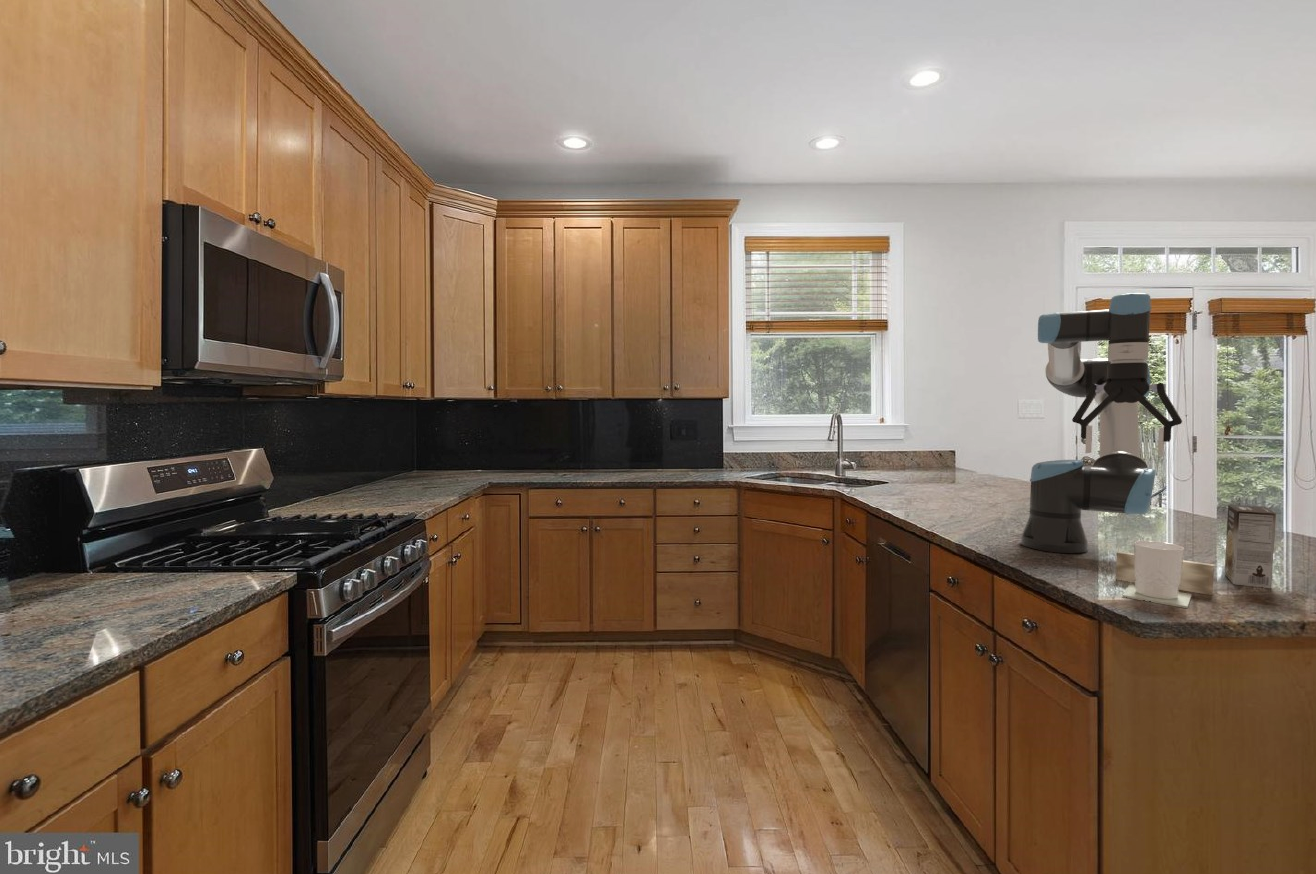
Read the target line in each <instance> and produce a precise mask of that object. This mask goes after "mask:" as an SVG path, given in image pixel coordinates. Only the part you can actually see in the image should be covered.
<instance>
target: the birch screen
mask: <svg viewBox="0 0 1316 874" xmlns="http://www.w3.org/2000/svg"><path fill="white" fill-rule="evenodd" d="M1115 560H1116V561H1115V579H1117V581H1121V580H1122V581H1123V582H1127V581H1128V583H1129V582H1130V583H1134V584H1135V580H1136V579H1135V568H1134V552H1132V553H1131V552H1124V551H1117V552H1116V557H1115ZM1214 575H1215V564H1214V563H1213V564H1212V563H1205V562H1199V561H1192V560H1185V559H1183V565H1182V574H1181V581H1180V585H1179V591H1185V592H1191V593H1197V594H1203V595H1209V596H1213V594H1214V593H1213V592H1214Z"/></svg>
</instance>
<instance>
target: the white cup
mask: <svg viewBox="0 0 1316 874" xmlns="http://www.w3.org/2000/svg"><path fill="white" fill-rule="evenodd" d="M1133 547H1134V548H1133V554H1134V568H1135V579H1136V580H1135V583H1134V585H1135V591H1136V592H1137V593H1139V594H1142V595H1145V596H1148V597H1154V598H1161V599H1176V598H1177V597H1178V593H1179V592H1180V590H1179V585H1180V581H1181V574H1182V565H1183V560H1184V554H1185V547H1183V546H1181V545H1179V544H1175V543H1169V542H1163V541H1153V540H1137V541H1134V542H1133Z"/></svg>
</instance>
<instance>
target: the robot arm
mask: <svg viewBox="0 0 1316 874" xmlns="http://www.w3.org/2000/svg"><path fill="white" fill-rule="evenodd" d="M1151 300H1152V299H1151V296H1150V294H1148V293H1145V292H1134V293H1133V292H1132V293H1122V294H1117V295H1114V296H1112V297H1111V299H1110V302H1109V308H1108V309H1097V310H1085V311H1084V310H1082V311H1081V310H1080V311H1066V312H1058V311H1056V312H1053V313H1043V314H1041V315H1039V317H1038V322H1037V341H1038V343H1041V344H1047V351H1048V354H1047V355H1048V361H1047V364H1046V366H1045V378H1046V379H1047V381H1048V383H1049V384H1050V385H1051V386H1052V387H1053V388H1054V389H1056V390H1057V391H1059V392H1061V393H1063V394H1065V395H1068V396H1070V397H1075V398H1084V400H1083V401H1082V403H1081V405H1080V406H1079V408H1078V409H1077V411H1076V413H1075V414H1074V416H1073V418H1072V419H1071V420H1072V422H1073V423H1076V424H1079V425H1080V438H1081V439H1082V440H1083V439H1085V452H1084V453H1085V454H1091V453H1092V449H1093V448H1092V445H1093V425H1089V424H1090V423H1091V422H1093V420H1095V419H1096V417H1098V416H1099V457H1097V458H1096V459H1095V460H1094V462H1093V464H1092V465H1084V464H1085V463H1084V462H1083V460H1082V459H1059V460H1058V459H1057V460H1047V461H1041V462H1037V463H1035V464H1033V465H1032V467H1031V472H1030V473H1031V474H1030V479H1029V482H1030V495H1029V513H1028V514H1029V516H1028V518H1027V521H1026V524H1025V526H1024V528H1023V530H1022V533H1021V538H1020V544H1021V545H1022V546H1024V547H1026V548H1029V549H1033V550H1038V551H1041V552H1042V551H1043V552H1051V553H1060V554H1081V553H1086V552H1087V551H1088V550H1089V549H1088V548H1089V543H1088V539H1087V536H1086V532H1085V530H1084V526H1083V523H1082V519H1081V518H1082V511H1089V512H1090V511H1091V512H1100V513H1101V512H1102V513H1104V512H1105V513H1113V514H1114V513H1115V514H1125V515H1145V514H1147V513H1148V512H1149V511H1150V509H1151V502H1152V496H1153V489H1154V485H1155V479H1156V474H1157V473H1156V470H1155V469H1153V468H1151V467H1148V464H1147V462H1146V461H1145V460H1144V459H1143V458H1141V454H1140V433H1139V432H1140V430H1139V429H1140V427H1139V425H1140V424H1139V406H1138V405H1139V404H1141V405H1142V406H1143V407H1144V408H1145V409H1147V410H1148V412H1149V413H1150V414H1151V415H1153V417H1154V418H1155V419H1156V420H1157V421H1158V422H1160V424H1161V425H1162V426H1160V427H1159V430H1158V445H1157V446H1158V447H1157V448H1158V451H1157V457H1159V458H1163V457H1164V456H1165V455H1164V454H1165V443H1167V442H1168V443H1169V442H1170V441H1171V439H1172V428H1173V427H1175V426H1178V425H1181V424H1183V420H1182V418H1181V417H1180V415H1179V413H1178V411H1177V409H1176V408H1175V407H1174V404H1173V403H1172V401H1171V400H1170V398H1169V396H1168V394H1167V392H1166V384H1164V383H1162V382H1158V383H1151V377H1150V376H1151V373H1150V372H1151V371H1150V367H1149V364H1148V362H1147V361H1148V360H1149V352H1150V351H1149V350H1150V328H1151V327H1150V325H1151V310H1152V305H1151ZM1100 341H1103V342H1104V341H1108V342H1107V343H1108V345H1107V357H1100V358H1099V357H1096V358H1095V357H1094V358H1093V357H1092V358H1081V357H1082V356H1081V355H1082V354H1081V353H1082V342H1085V343H1086V342H1100ZM1151 390H1152V392H1153V393H1154V394H1157V395H1158V398H1159V399H1160V401H1161V402H1162V405H1163V406H1164V407H1165V410H1166V411H1167V413H1168V414H1169V416H1170V418H1171V420H1169V419H1168V418H1167V417H1166V416H1165V415H1164V414H1163V413H1162V412H1161V411H1159V409H1158V408H1157V407H1156V406H1154V404H1153V403H1152V402H1151V401H1149V399H1148V398H1147V397H1148V396H1149V395H1150V393H1151ZM1093 401H1095V403H1096V404H1097V406H1096V407H1095V408H1094V409H1093V410H1092V411H1091V412H1090V413H1089V414H1087V416H1085V418H1083V416H1084V415H1085V413H1086V412H1087V410H1088V409H1089V407H1090V405H1091V404H1092V402H1093Z"/></svg>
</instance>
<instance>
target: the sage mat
mask: <svg viewBox="0 0 1316 874" xmlns="http://www.w3.org/2000/svg"><path fill="white" fill-rule="evenodd" d="M1192 594H1193V593H1186V592H1185V593H1184V592H1181V591H1179V593H1178V597H1177V598H1176V599H1161V598H1154V597H1148V596H1145V595H1142V594H1139V593H1137V592H1136V591H1135V584H1132V583H1131V584H1129V585H1128V586H1127V587H1126V589H1125V591H1124V592H1123V594H1122V596H1123V597H1122V598H1126V597H1127V598H1126V599H1133V600H1139V601H1143V600H1145V601H1144V602H1149V601H1151V602H1150V603H1155V604H1162V605H1167V606H1171V607H1172V606H1173V607H1176V608H1177V607H1178V608H1184V609H1188V608H1189V605H1190V601H1191V598H1192V596H1193V595H1192Z"/></svg>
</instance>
